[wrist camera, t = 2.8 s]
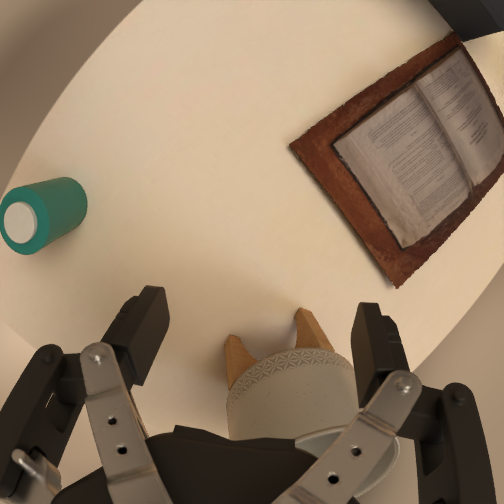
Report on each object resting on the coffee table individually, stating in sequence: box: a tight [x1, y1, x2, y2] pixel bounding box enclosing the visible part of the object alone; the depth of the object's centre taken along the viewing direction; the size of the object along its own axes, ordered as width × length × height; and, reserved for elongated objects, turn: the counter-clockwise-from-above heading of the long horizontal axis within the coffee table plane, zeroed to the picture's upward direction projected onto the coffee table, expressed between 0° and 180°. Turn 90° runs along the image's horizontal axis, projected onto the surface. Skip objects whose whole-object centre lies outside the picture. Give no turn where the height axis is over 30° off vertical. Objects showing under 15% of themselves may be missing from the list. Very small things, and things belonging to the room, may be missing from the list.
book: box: [290, 32, 504, 289], centre depth 29 cm, size 20×28×4 cm
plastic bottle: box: [0, 177, 87, 255], centre depth 24 cm, size 5×5×9 cm
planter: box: [225, 308, 400, 498], centre depth 28 cm, size 13×13×18 cm
